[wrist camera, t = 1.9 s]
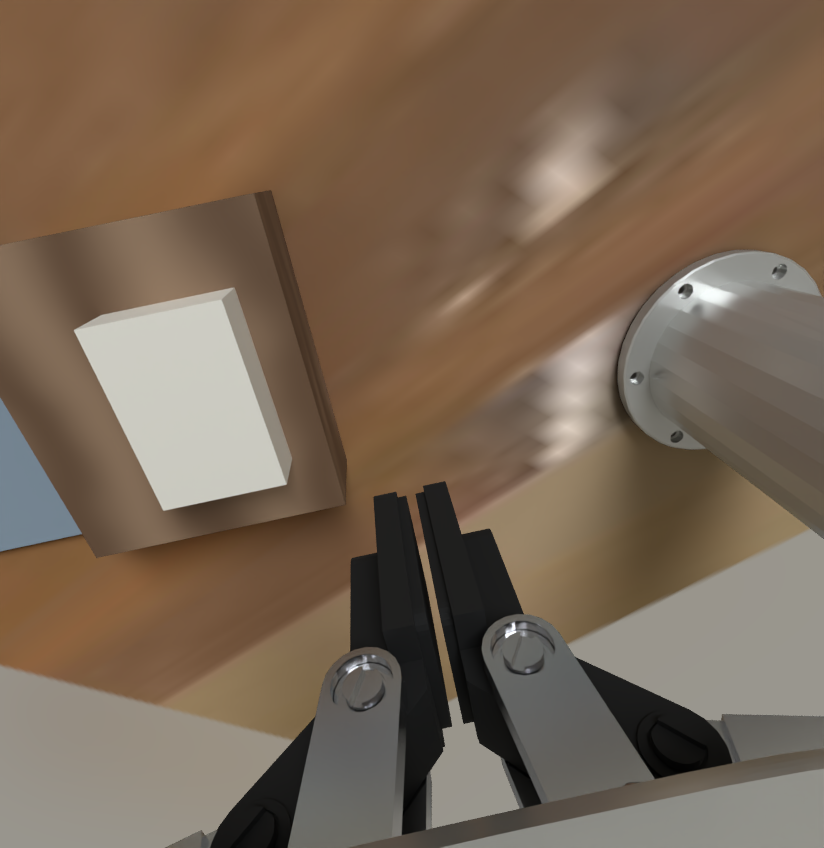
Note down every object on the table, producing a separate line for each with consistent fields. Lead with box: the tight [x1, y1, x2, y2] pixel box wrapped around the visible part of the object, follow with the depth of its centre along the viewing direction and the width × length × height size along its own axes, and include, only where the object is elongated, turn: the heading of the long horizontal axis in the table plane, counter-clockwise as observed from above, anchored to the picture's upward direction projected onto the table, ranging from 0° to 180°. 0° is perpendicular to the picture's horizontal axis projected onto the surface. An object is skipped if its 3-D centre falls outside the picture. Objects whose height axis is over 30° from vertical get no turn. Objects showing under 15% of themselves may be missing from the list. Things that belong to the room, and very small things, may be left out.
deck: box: [0, 190, 347, 558], centre depth 27 cm, size 14×16×5 cm
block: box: [74, 287, 292, 511], centre depth 24 cm, size 6×9×2 cm, turn 10°
